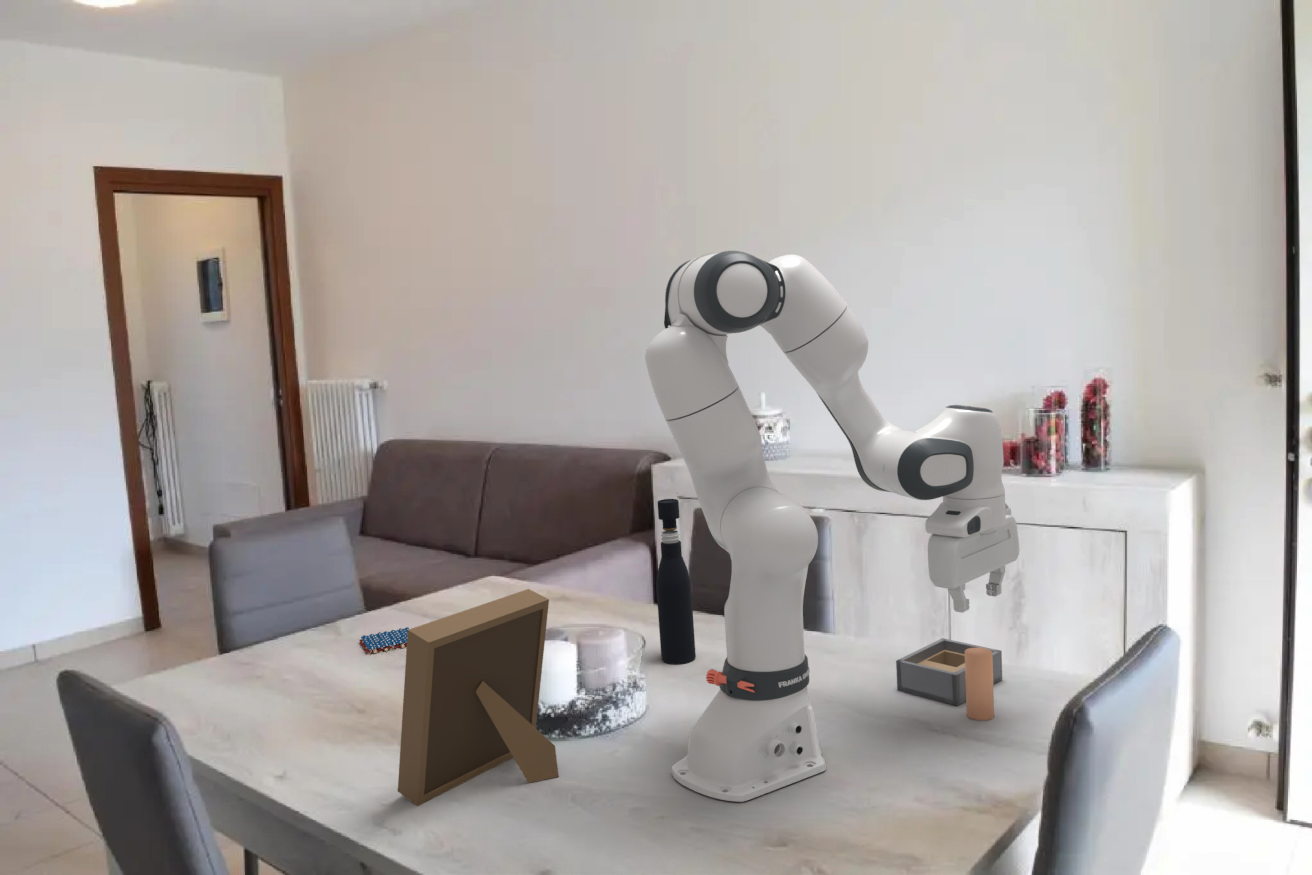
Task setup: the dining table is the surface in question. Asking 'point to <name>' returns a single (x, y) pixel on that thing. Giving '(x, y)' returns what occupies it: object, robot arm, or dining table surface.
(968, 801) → the dining table surface
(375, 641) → the woven mat
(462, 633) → the photo frame
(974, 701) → the peg
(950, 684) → the bore box
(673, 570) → the black bottle
